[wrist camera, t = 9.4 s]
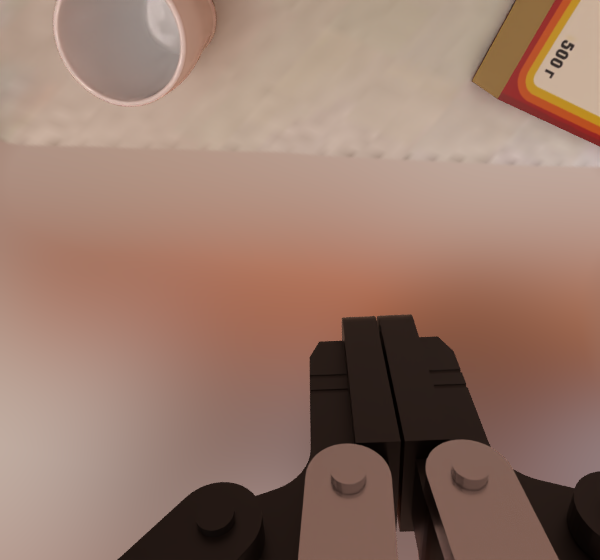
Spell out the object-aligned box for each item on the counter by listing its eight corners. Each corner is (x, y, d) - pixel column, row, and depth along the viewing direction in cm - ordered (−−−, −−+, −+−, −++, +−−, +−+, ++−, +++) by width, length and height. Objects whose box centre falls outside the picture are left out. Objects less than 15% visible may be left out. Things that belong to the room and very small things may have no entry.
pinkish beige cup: (147, -54, 37) (61, -66, 24) (239, -13, 39) (203, -4, 26) (126, 44, 41) (40, 79, 28) (211, 79, 42) (167, 128, 29)
